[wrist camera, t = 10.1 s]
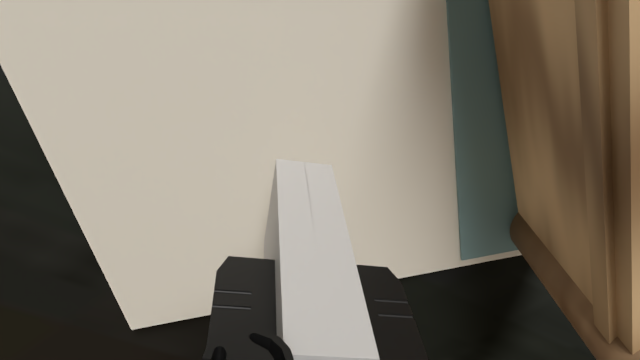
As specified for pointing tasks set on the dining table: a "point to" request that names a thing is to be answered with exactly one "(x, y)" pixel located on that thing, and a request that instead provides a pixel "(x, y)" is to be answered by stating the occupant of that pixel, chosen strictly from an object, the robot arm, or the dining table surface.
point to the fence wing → (577, 157)
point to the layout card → (263, 130)
